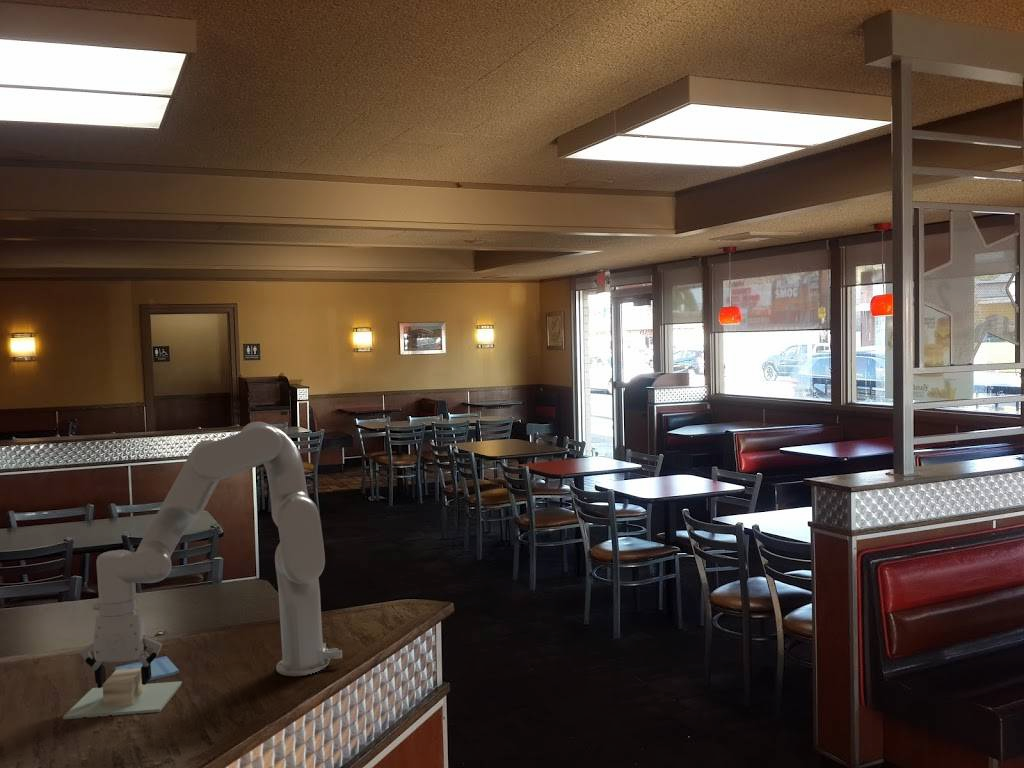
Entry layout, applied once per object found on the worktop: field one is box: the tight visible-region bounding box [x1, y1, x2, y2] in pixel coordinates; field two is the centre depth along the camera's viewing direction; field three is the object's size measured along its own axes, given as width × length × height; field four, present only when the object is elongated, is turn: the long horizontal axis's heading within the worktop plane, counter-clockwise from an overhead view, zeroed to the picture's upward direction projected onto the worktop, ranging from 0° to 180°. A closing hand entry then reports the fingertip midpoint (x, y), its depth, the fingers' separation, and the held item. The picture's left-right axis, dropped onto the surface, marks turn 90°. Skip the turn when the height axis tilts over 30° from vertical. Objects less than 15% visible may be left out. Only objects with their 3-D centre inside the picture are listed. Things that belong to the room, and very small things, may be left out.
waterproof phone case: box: [114, 655, 180, 682], centre depth 217 cm, size 14×12×1 cm
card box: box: [102, 668, 145, 707], centre depth 199 cm, size 9×6×5 cm, turn 7°
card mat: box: [62, 680, 183, 720], centre depth 199 cm, size 20×16×1 cm
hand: (123, 684), depth 199 cm, fingers open, 9 cm apart
